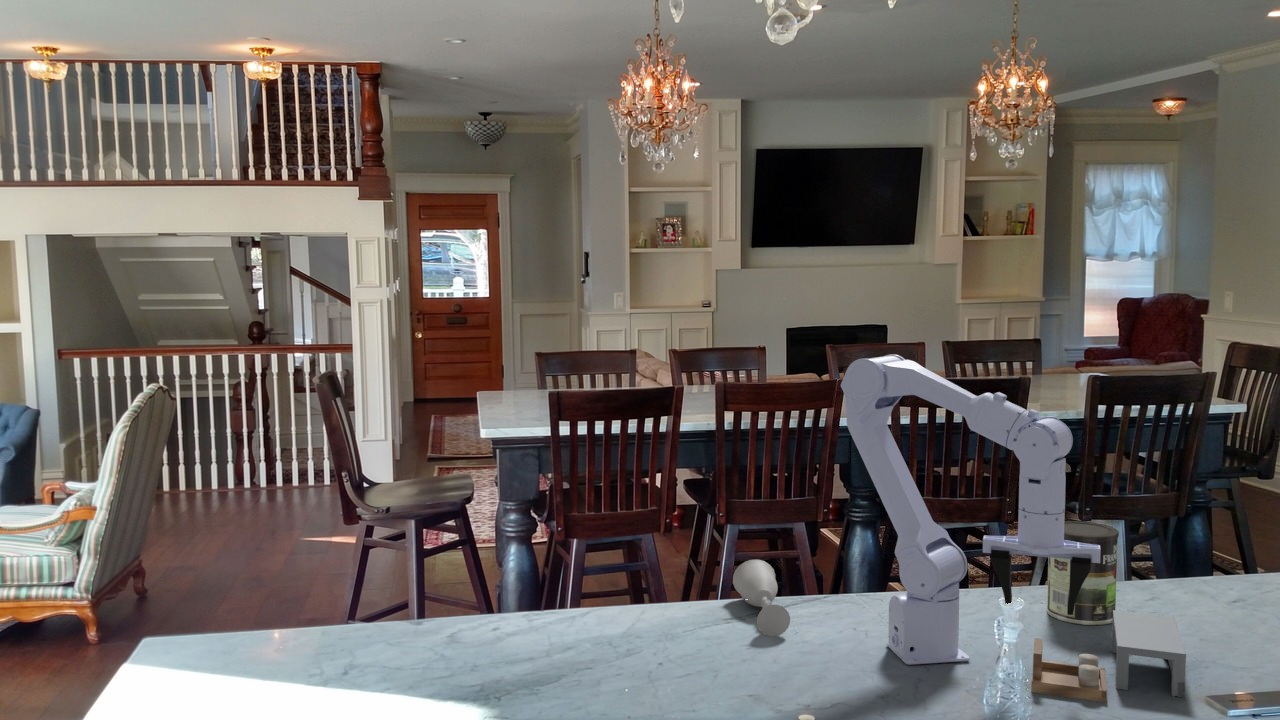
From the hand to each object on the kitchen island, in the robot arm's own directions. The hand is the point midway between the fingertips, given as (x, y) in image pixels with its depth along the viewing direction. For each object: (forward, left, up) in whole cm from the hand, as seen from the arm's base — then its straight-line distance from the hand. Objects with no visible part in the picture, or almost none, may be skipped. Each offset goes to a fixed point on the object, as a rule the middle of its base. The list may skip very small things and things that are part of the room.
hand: (1039, 609), depth 137 cm
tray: (+3, -2, -10) cm, 11 cm away
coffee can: (+20, +24, -10) cm, 33 cm away
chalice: (-31, +21, -7) cm, 38 cm away
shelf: (+16, +1, -10) cm, 19 cm away
